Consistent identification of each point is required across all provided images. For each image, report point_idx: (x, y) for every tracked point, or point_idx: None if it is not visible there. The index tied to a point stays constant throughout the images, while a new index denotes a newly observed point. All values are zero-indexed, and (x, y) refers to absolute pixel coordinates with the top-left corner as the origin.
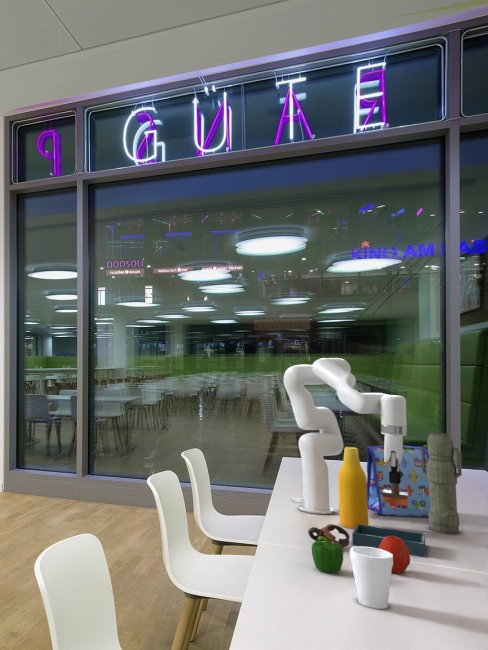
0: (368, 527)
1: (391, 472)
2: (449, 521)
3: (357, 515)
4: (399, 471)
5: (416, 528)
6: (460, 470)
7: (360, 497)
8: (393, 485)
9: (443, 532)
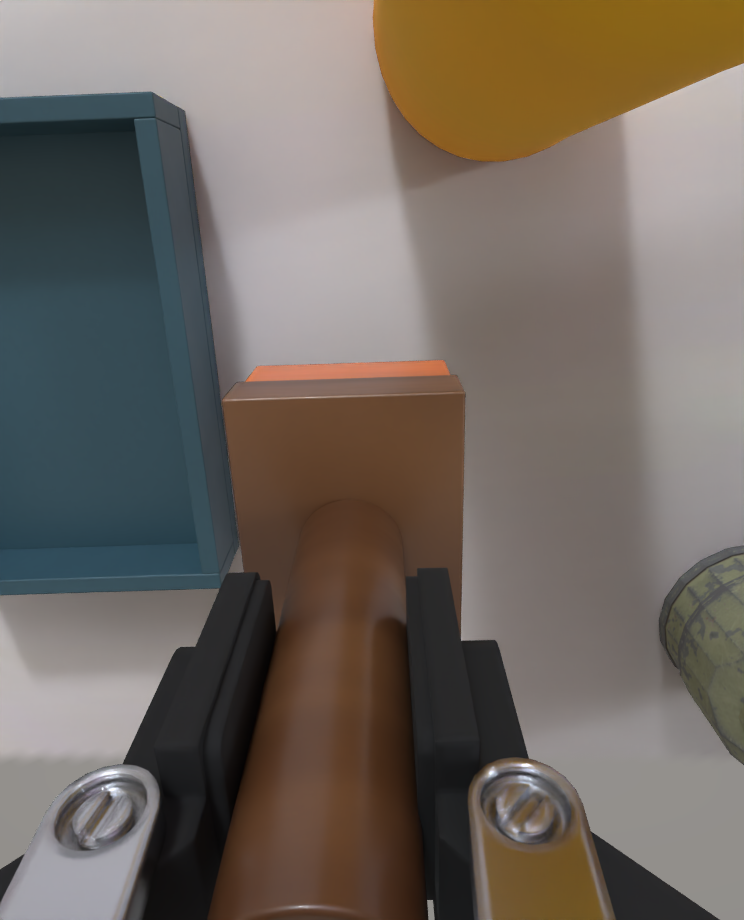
0: (148, 205)
1: (165, 776)
2: (698, 699)
3: (387, 54)
4: (433, 899)
5: (706, 473)
6: None
7: (421, 38)
8: (287, 592)
9: (661, 615)
